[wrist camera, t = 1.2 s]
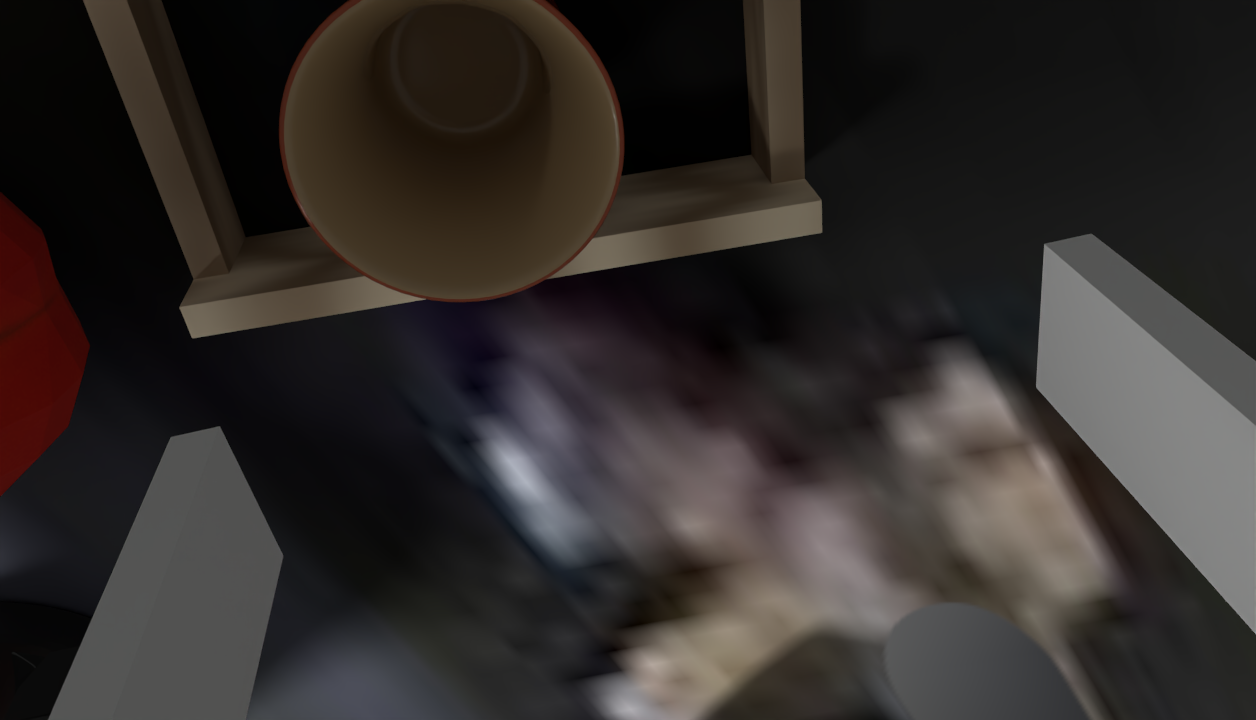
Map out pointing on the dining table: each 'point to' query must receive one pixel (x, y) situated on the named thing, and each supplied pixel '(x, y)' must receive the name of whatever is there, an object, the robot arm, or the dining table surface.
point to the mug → (452, 143)
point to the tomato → (33, 346)
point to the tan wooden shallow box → (325, 285)
